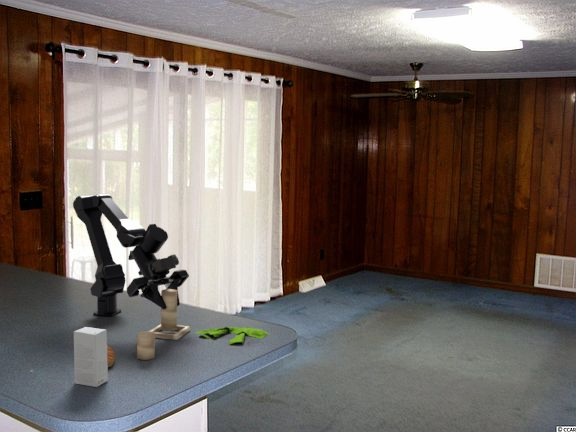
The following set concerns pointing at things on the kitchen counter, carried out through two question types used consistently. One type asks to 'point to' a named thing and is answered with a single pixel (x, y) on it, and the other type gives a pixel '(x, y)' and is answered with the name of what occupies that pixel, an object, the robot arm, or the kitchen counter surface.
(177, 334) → the birch collar
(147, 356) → the short beech pin
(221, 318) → the kitchen counter surface
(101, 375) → the skincare box
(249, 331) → the cloth
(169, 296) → the tall beech pin
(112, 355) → the pastry
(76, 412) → the kitchen counter surface
